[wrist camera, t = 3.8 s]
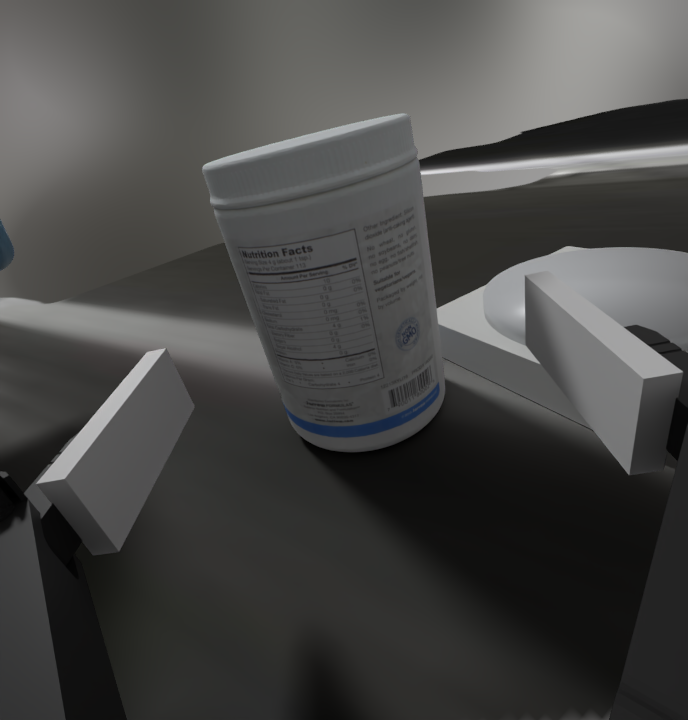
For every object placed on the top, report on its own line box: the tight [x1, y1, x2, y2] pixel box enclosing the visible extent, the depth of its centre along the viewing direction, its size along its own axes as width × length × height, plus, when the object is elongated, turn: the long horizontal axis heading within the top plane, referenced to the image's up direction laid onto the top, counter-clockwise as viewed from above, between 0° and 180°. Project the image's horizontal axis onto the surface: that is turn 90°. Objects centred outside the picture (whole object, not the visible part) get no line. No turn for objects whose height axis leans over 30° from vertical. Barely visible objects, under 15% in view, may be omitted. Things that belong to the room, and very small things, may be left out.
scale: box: [437, 246, 688, 430], centre depth 25 cm, size 15×15×4 cm
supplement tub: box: [202, 114, 445, 452], centre depth 22 cm, size 10×10×15 cm
